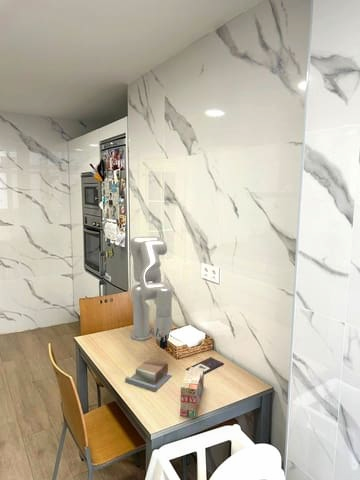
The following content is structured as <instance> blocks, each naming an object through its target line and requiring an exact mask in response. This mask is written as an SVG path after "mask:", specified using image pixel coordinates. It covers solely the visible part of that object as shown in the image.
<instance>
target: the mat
mask: <svg viewBox="0 0 360 480" xmlns="http://www.w3.org/2000/svg"><path fill="white" fill-rule="evenodd" d="M172 377H173V375H171V374H168V373H167V374H166V375H165V376H164V377H163V378H162V379H160V380H159V381H158V382H157V383H156V384H155V385H153V384H150V383H146V382H143V381H140V380H137V379H136V372H135V373H134V374H133V375H132V376H131V377H130V376H126V377H124V382H125V383H126V384H130V385H132V386H135V387H138V388H141V389H145V390H147V391H151V392H153V393H156V392H157V391H158V390H160V389H161V388H162V386H164V384H165V383H167V382H168V380H170V379H171V378H172Z"/></svg>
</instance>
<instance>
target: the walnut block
mask: <svg viewBox="0 0 360 480" xmlns="http://www.w3.org/2000/svg"><path fill="white" fill-rule="evenodd" d="M168 365H169V362H166V361H162V360H159V359H154V358H152V357H150V358H148V359H146V360H145V361H144V362H143V363H141V364H140V365H139V366H138V367H136V368H135V373H136V379H137V380H140V381H143V382H146V383H150V384H153V385H155V384H156V383H157V382H158V381H159V380H160V379H162V378H163V377H164V376H165V375H166V374H168V373H169V366H168Z"/></svg>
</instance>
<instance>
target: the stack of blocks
mask: <svg viewBox="0 0 360 480" xmlns="http://www.w3.org/2000/svg"><path fill="white" fill-rule="evenodd" d="M189 367H190V369H189V371H187V370H186V372H185V375H184V378H183V381H182V383H181V385H180V410H179V415H180V417H186V418H194V419H196V418H197V414H198V412H199V407H200V403H201V398H202V395H203V391H204V388H205V387H204V384H205V383H204V382H205V381H204V379H205V375H204V368H195V367H191V366H189Z"/></svg>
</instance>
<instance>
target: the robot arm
mask: <svg viewBox="0 0 360 480" xmlns="http://www.w3.org/2000/svg"><path fill="white" fill-rule="evenodd" d="M128 244H129V251H130V254H131V257H132V262H133V263H132V266H133V269H132V270H133V279H134V281H135V282H137V283H139V284H136V285H133V287H132V288H131V297H132V303H133V305H132V306H133V307H132V308H133V314H132V317H133V319H132V320H133V321H132V322H133V323H132V324H133V327H132V328H133V331H132V332H131V333H130V338H131V339H133V340H136V341H145V340H149V339H150V338H152V337H153V336H154V337H156V341H159V348H160V349H163V350H166V349H167V348H168V338H169V334H171V332H172V329H173V319H172V313H173V311H172V309H173V308H172V303H173V300H172V298H173V297H172V296H173V290H172V288H171V286H170V285H169V283H168V282H166V281H164V282H163V281H162V273H161V259H160V256H164V255H166V254H167V252H168V245H167V242H166V241H165V240H164V239H163V238H161V237H160V236H154V235H153V236H137V237H133V238H130V240H129V243H128ZM147 282H150V283H147ZM150 300H155V319H154V322H153V323H154V326H153V325H150V315H151V314H150V305H149V304H148V303H147V301H150ZM152 329H153V332H151V330H152Z"/></svg>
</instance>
